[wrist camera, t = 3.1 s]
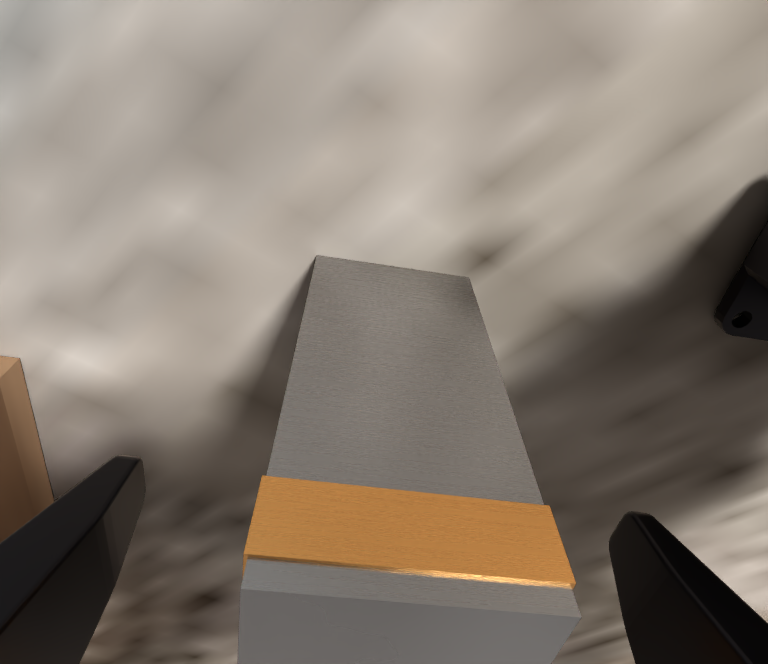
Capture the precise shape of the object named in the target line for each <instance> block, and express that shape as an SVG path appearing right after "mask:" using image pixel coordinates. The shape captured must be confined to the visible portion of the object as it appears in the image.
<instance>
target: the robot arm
mask: <svg viewBox="0 0 768 664" xmlns="http://www.w3.org/2000/svg"><path fill="white" fill-rule="evenodd" d="M740 312H743V313H742V314H741V315H740V316H739V317H738V318H736V319H734V320H733V318H734V317H735V316H736V315H737V314H738V313H740ZM714 319H715V322H716V323H717V325H718V326H719V327H720V328H721V329H723V330H724V331H725V332H726V333H727V334H730V335H733V336H739V337H746V338H753V339H760V340H767V341H768V221H767V223H766V224H765V226H764V228H763V230H762V231H761V233H760V235H759V237H758V238H757V240H756V242H755V243H754V245H753V247H752V249H751V250H750V252H749V254H748V256H747V257H746V259H745V261H744V262H743V264H742V266H741V268H740V269H739V271H738V273H737V275H736V276H735V278H734V280H733V281H732V283H731V285H730V287H729V288H728V290H727V292H726V294H725V295H724V297H723V299H722V301H721V302H720V304H719V306H718V307H717V309H716V312H715V315H714ZM145 491H146V487H145V478H144V468H143V461H142V459H141V458H140V457H137V456H128V455H117V456H114V457H113V458H111V459H110V460H109V461H107V462H106V463H105V464H103V465H102V466H101V467H99V468H98V469H97V470H95V471H94V472H93V473H91V474H90V475H89V476H88V477H86V478H85V479H84V480H82V481H81V482H80V483H78V484H77V485H76V486H74V487H73V488H72V489H70V490H69V491H68V492H66V493H65V494H64V495H62V496H61V497H60V498H59V499H57V500H56V501H55V502H53V503H52V504H51V505H49V506H48V507H47V508H45V509H44V510H43V511H41V512H40V513H39V514H37V515H36V516H35V517H34V518H32V519H31V520H30V521H28V522H27V523H26V524H24V525H23V526H22V527H20V528H19V529H18V530H16V531H15V532H14V533H12V534H11V535H10V536H8V537H7V538H6V539H5V540H3V541H2V542H1V543H0V664H79V663H80V661H81V659H82V657H83V655H84V653H85V650H86V648H87V646H88V644H89V642H90V640H91V638H92V635H93V633H94V631H95V629H96V627H97V625H98V622H99V620H100V618H101V616H102V614H103V612H104V609H105V607H106V605H107V603H108V601H109V598H110V596H111V594H112V592H113V589H114V587H115V584H116V582H117V579H118V576H119V573H120V570H121V567H122V564H123V561H124V558H125V555H126V552H127V549H128V546H129V543H130V541H131V538H132V535H133V532H134V529H135V526H136V523H137V520H138V517H139V514H140V511H141V508H142V505H143V502H144V498H145ZM609 552H610V557H611V562H612V567H613V572H614V577H615V581H616V586H617V591H618V596H619V601H620V606H621V611H622V616H623V620H624V625H625V629H626V633H627V636H628V640H629V643H630V647H631V650H632V653H633V657H634V660H635V663H636V664H768V623H767V622H766V621H765V620H764V619H763V618H762V617H761V616H759V615H758V614H757V613H756V612H755V611H754V610H753V609H752V608H751V607H750V606H749V605H748V604H747V603H745V602H744V601H743V600H742V599H741V598H740V597H739V596H738V595H737V594H736V593H735V592H734V591H733V590H732V589H730V588H729V587H728V586H727V585H726V584H725V583H724V582H723V581H722V580H721V579H720V578H719V577H718V576H716V575H715V574H714V573H713V572H712V571H711V570H710V569H709V568H708V567H707V566H706V565H705V564H704V563H703V562H701V561H700V560H699V559H698V558H697V557H696V556H695V555H694V554H693V553H692V552H691V551H690V550H689V549H688V548H686V547H685V546H684V545H683V544H682V543H681V542H680V541H679V540H678V539H677V538H676V537H675V536H674V535H672V534H671V533H670V532H669V531H668V530H667V529H666V528H665V527H664V526H663V525H662V524H661V523H660V522H659V521H657V520H656V519H655V518H654V517H653V516H652V515H650V514H647V513H641V512H632V511H631V512H627V513H626V514H625V515H624V516H623V518H622V519H621V521H620V522H619V524H618V526H617V527H616V529H615V530H614V532H613V534H612V535H611V537H610V541H609Z"/></svg>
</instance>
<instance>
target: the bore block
mask: <svg viewBox="0 0 768 664" xmlns="http://www.w3.org/2000/svg"><path fill="white" fill-rule="evenodd" d="M53 502H54V499H53V494H52V490H51V486H50V482H49V478H48V474H47V470H46V466H45V461H44V457H43V453H42V449H41V445H40V441H39V437H38V433H37V428H36V424H35V420H34V416H33V412H32V408H31V404H30V399H29V395H28V391H27V387H26V383H25V379H24V375H23V371H22V366H21V362H20V358H12V357H4V356H0V543H1V542H2V541H3V540H5V539H6V538H7V537H8V536H10V535H11V534H12V533H14V532H15V531H16V530H18V529H19V528H20V527H22V526H23V525H24V524H26V523H27V522H28V521H30V520H31V519H32V518H34V517H35V516H36V515H37V514H39V513H40V512H41V511H43V510H44V509H45V508H47V507H48V506H49V505H51V504H52V503H53Z"/></svg>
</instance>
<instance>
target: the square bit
mask: <svg viewBox="0 0 768 664" xmlns="http://www.w3.org/2000/svg"><path fill="white" fill-rule="evenodd" d="M575 585H576V582H575V579H574V576H573V573H572V570H571V567H570V564H569V561H568V558H567V555H566V552H565V549H564V546H563V543H562V541H561V538H560V535H559V532H558V529H557V526H556V523H555V520H554V517H553V514H552V511H551V508H550V506H548V505H544V503H543V500H542V497H541V494H540V491H539V488H538V485H537V482H536V479H535V475H534V472H533V469H532V466H531V463H530V460H529V457H528V454H527V451H526V448H525V445H524V442H523V439H522V436H521V433H520V430H519V427H518V424H517V421H516V418H515V415H514V412H513V409H512V406H511V403H510V400H509V397H508V394H507V391H506V388H505V385H504V382H503V379H502V376H501V373H500V370H499V367H498V364H497V361H496V358H495V355H494V352H493V349H492V346H491V343H490V340H489V337H488V334H487V331H486V328H485V325H484V322H483V319H482V316H481V313H480V310H479V306H478V303H477V300H476V297H475V294H474V291H473V288H472V285H471V282H470V279H469V278H467V277H460V276H454V275H447V274H440V273H433V272H427V271H420V270H413V269H406V268H400V267H393V266H386V265H379V264H373V263H366V262H359V261H352V260H346V259H339V258H332V257H325V256H318V255H317V256H316V260H315V265H314V269H313V274H312V278H311V282H310V287H309V291H308V295H307V300H306V304H305V309H304V313H303V317H302V322H301V326H300V330H299V335H298V339H297V344H296V348H295V352H294V357H293V361H292V365H291V370H290V374H289V378H288V383H287V387H286V392H285V396H284V400H283V405H282V409H281V413H280V418H279V422H278V427H277V431H276V435H275V440H274V444H273V448H272V453H271V457H270V462H269V466H268V470H267V475H266V476H263V475H262V478H261V482H260V487H259V491H258V495H257V499H256V503H255V508H254V512H253V516H252V520H251V524H250V529H249V533H248V537H247V541H246V545H245V550H244V555H243V578H242V584H241V588H240V611H239V636H238V661H237V664H551V663H552V662H553V660H554V659H555V657H556V656H557V654H558V653H559V651H560V649H561V648H562V646H563V645H564V643H565V642H566V640H567V639H568V637H569V636H570V634H571V633H572V631H573V630H574V628H575V627H576V625H577V624H578V622H579V621H580V619H581V614H580V611H579V608H578V605H577V602H576V599H575V596H574V593H573V588H574V587H575Z"/></svg>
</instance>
